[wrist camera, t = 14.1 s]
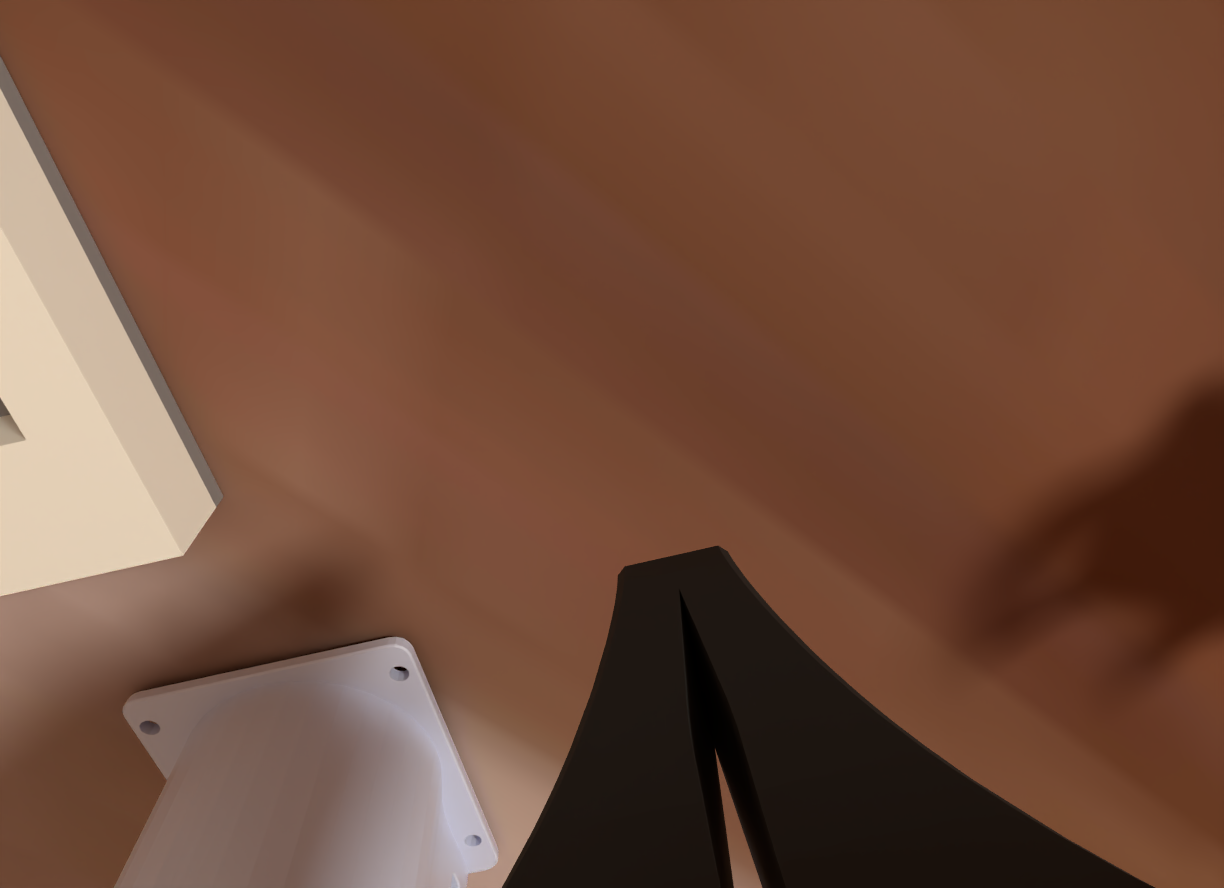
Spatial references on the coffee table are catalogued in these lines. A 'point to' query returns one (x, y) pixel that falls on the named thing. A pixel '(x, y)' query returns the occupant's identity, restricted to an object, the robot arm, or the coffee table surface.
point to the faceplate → (78, 394)
